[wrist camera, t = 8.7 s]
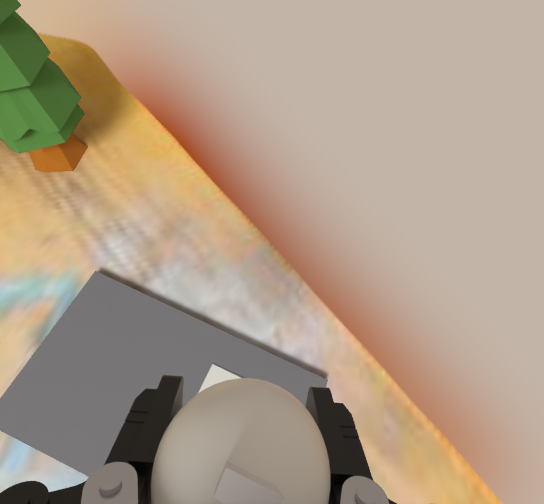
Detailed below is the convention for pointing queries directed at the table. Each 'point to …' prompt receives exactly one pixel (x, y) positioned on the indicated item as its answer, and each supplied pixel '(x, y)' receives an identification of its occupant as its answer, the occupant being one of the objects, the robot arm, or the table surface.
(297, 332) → the table surface
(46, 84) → the decorative tree
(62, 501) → the robot arm
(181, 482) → the white rounded cylinder
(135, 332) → the mat
